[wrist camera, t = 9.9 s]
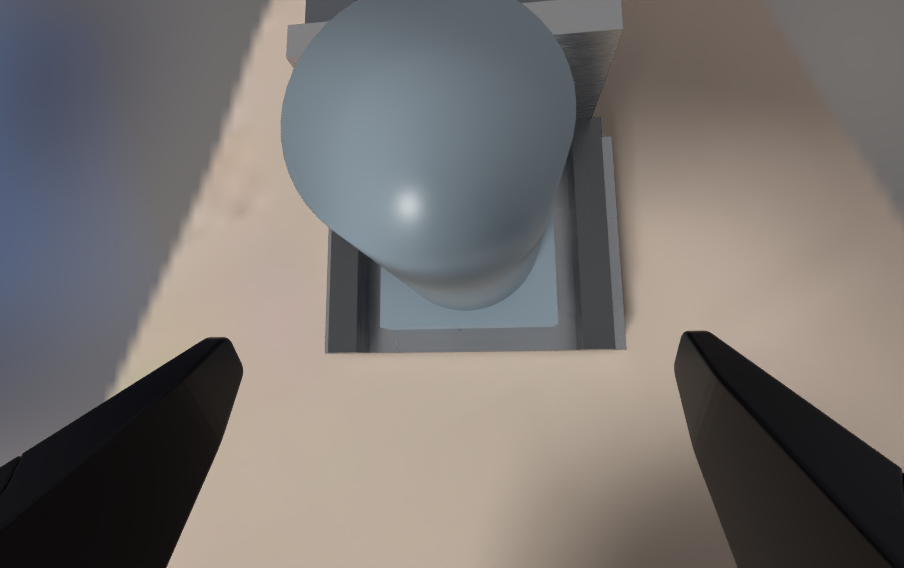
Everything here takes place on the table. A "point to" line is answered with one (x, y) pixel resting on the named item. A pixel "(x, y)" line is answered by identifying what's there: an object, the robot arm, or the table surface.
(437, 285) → the blue-grey knob on base
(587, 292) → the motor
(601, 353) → the table surface
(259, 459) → the table surface
